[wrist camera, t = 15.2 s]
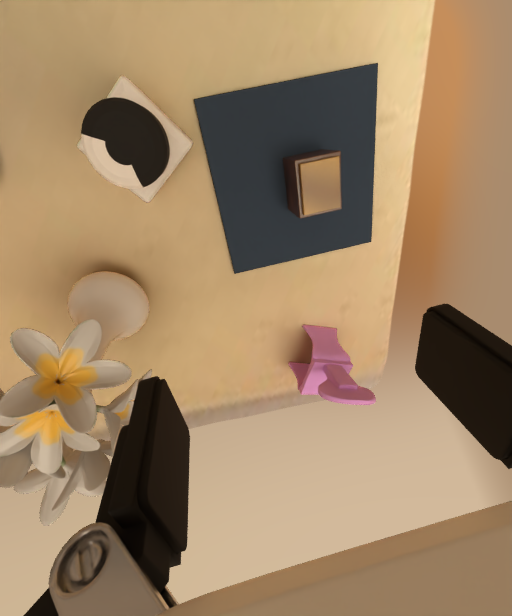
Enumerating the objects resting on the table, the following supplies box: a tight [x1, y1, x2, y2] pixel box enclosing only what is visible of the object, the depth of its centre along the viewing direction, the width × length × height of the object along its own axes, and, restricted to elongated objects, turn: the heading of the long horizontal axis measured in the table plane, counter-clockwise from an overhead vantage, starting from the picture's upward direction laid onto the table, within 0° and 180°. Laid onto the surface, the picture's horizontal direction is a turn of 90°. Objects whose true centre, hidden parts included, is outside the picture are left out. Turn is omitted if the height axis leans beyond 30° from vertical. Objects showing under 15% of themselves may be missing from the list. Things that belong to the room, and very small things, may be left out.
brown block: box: [283, 149, 342, 219], centre depth 33 cm, size 6×5×6 cm
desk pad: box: [194, 63, 378, 274], centre depth 36 cm, size 20×20×1 cm
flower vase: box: [0, 271, 152, 526], centre depth 29 cm, size 13×18×25 cm
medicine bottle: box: [77, 76, 193, 203], centre depth 26 cm, size 7×7×12 cm
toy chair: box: [288, 325, 376, 405], centre depth 44 cm, size 8×9×15 cm
